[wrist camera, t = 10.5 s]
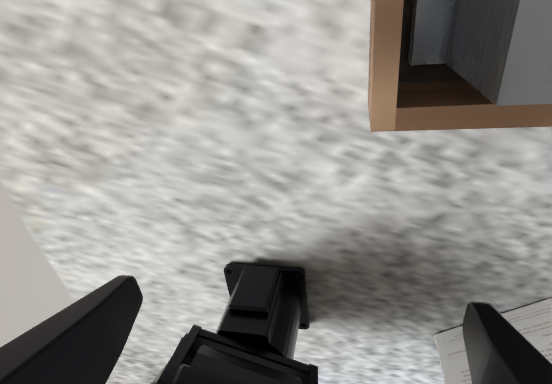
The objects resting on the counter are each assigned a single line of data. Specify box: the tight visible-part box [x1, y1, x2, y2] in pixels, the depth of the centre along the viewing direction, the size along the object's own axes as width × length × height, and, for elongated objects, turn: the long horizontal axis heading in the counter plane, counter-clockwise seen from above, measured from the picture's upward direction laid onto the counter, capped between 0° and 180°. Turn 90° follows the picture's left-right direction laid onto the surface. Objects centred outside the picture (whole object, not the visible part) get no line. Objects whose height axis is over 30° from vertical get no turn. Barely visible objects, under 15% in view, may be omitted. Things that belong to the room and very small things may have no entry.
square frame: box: [368, 0, 552, 132], centre depth 14 cm, size 9×9×4 cm
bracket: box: [408, 0, 552, 106], centre depth 12 cm, size 5×5×8 cm
